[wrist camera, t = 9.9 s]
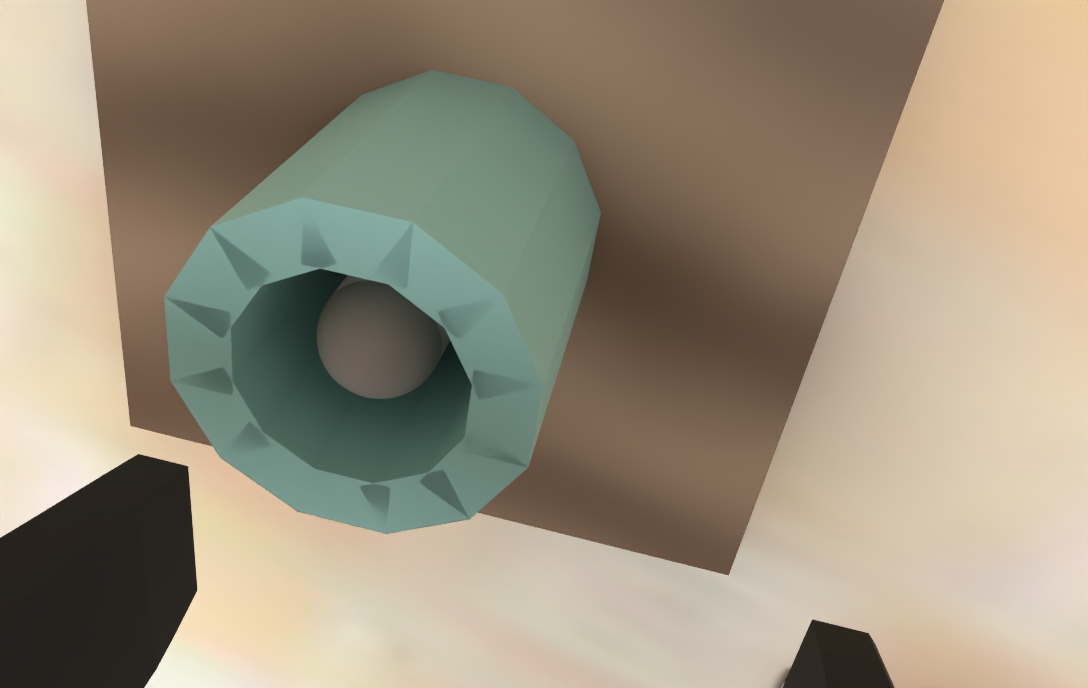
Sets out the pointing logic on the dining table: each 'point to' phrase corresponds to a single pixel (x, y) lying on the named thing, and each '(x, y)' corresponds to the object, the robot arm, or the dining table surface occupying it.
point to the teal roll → (416, 273)
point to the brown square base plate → (618, 185)
